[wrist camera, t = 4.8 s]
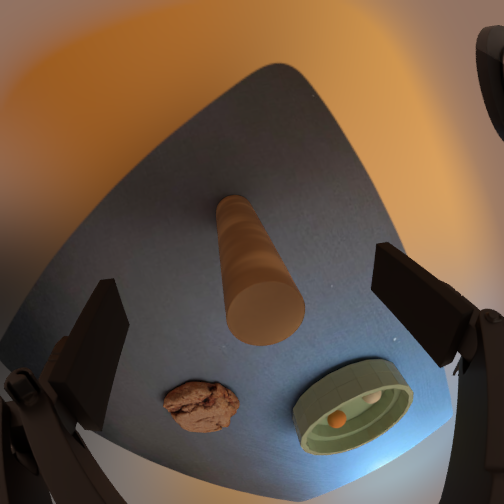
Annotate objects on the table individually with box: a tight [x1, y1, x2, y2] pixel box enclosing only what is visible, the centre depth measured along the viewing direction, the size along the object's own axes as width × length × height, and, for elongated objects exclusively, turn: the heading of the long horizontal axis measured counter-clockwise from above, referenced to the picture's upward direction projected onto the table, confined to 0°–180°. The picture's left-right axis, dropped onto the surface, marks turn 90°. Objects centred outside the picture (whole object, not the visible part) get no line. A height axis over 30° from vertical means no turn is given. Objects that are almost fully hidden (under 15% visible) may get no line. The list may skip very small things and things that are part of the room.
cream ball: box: [362, 391, 381, 404], centre depth 36 cm, size 3×3×3 cm
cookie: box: [163, 381, 239, 433], centre depth 33 cm, size 10×11×3 cm
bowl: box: [292, 359, 413, 455], centre depth 36 cm, size 18×18×6 cm
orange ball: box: [327, 410, 346, 428], centre depth 37 cm, size 3×3×3 cm
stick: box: [216, 195, 305, 346], centre depth 18 cm, size 3×3×15 cm
